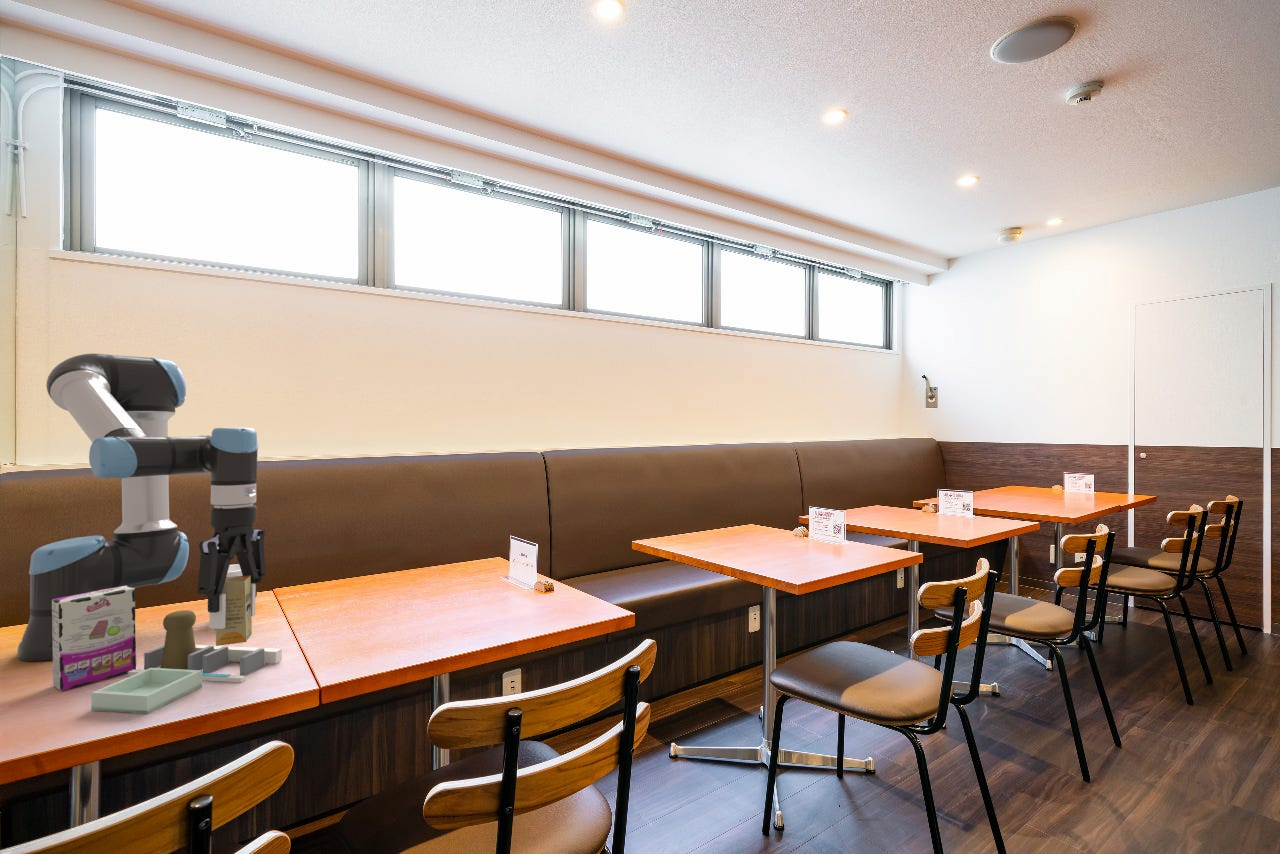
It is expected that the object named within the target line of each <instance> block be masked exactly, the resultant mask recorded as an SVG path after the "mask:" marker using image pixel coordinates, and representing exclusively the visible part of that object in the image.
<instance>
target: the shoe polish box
mask: <svg viewBox="0 0 1280 854" xmlns="http://www.w3.org/2000/svg"><path fill="white" fill-rule="evenodd" d="M215 589H216V587H215ZM221 594H226V621H225V628H223V629H214V630H215V646H228V645H232V644H233V645H235V644H241V643H247V641H248V640H249V638H251V636H252V634H253V632H252V631H253V629H252V616H251V575H246V576H235V577H226V580H225V583H224V587H223V590H222V593H221Z"/></svg>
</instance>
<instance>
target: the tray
mask: <svg viewBox="0 0 1280 854" xmlns="http://www.w3.org/2000/svg"><path fill="white" fill-rule="evenodd" d="M143 670H144V669H143ZM202 673H203V670H202V669H200V670H183V669H166V668H161V667H157V668H149V669H146V670H144V671H142V672H139V673H137V674H135V675H132V676H128V677H125V678H123V679H120V680H119V681H116V682H114V683H112V684H110V685H109V684H108V685H107V686H104V687H102V688H100V689H97V690H95V691H93V692H91V696H90V697H91V701H90V702H91V704H90V705H91V711H92V712H93V711H94V712H108V713H109V712H110V713H120V714H121V713H122V714H123V713H124V714H136V715H138V714H140V715H148V714H151V713H153V712H155V711H157V710H158V709H161V708H162V707H163V708H164V706H167V705H168V704H170V703H172V702H174V701H177V700H178V699H180V698H182V697H185V696H187V695H188V694H190V693H192V692H194V691H196V690H199V689H201V688H203V686H202V684H203V680H202Z"/></svg>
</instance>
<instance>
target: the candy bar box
mask: <svg viewBox="0 0 1280 854" xmlns="http://www.w3.org/2000/svg"><path fill="white" fill-rule="evenodd" d="M135 589H136V588H132V587H129V586H121V587H115V588H110V589H104V590H99V591H93V592H88V593H83V594H78V595H72V596H67V597H62V598H56V599H52V636H53V642H52V643H53V660H52V682H53V683H52V685H53V687H54V688H55V689H57V691H59V692H66V691H69V690H73V689H77V688H80V687H83V686H87V685H90V684H91V685H92V684H94V683H97V682H101V681H105V680H108V679H112V678H116V677H118V676H119V677H120V676H122V675H125V674H128V672H129V671H131V670H137V649H136V648H137V647H136V645H137V639H136V638H137V637H136V590H135Z"/></svg>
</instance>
